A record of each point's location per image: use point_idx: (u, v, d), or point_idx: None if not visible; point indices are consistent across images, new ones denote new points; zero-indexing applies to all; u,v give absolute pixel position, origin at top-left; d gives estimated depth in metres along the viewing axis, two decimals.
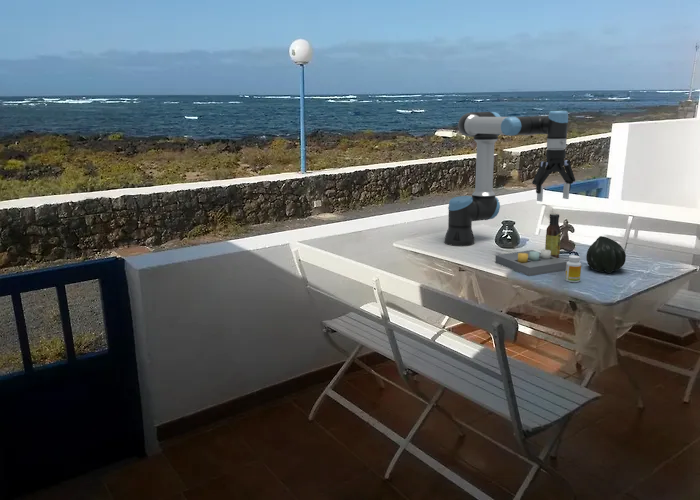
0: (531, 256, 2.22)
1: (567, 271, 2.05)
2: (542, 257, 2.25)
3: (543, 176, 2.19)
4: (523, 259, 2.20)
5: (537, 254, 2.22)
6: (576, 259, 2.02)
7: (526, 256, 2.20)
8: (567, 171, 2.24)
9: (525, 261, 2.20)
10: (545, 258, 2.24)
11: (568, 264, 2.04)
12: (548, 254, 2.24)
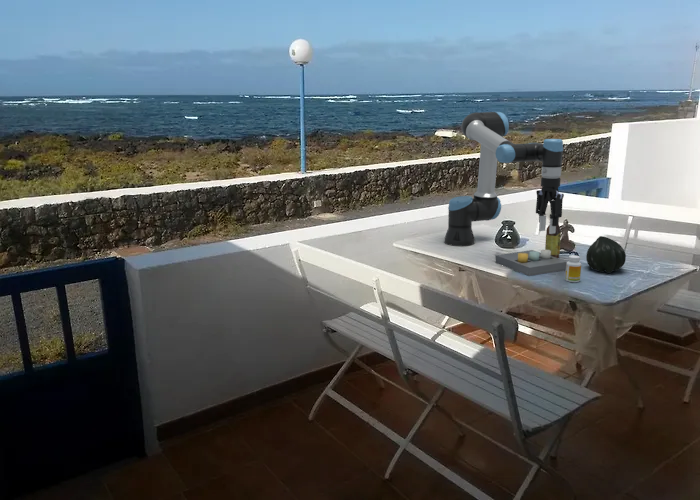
0: (531, 256, 2.22)
1: (567, 271, 2.05)
2: (542, 257, 2.25)
3: None
4: (523, 259, 2.20)
5: (537, 254, 2.22)
6: (576, 259, 2.02)
7: (526, 256, 2.20)
8: None
9: (525, 261, 2.20)
10: (545, 258, 2.24)
11: (568, 264, 2.04)
12: (548, 254, 2.24)
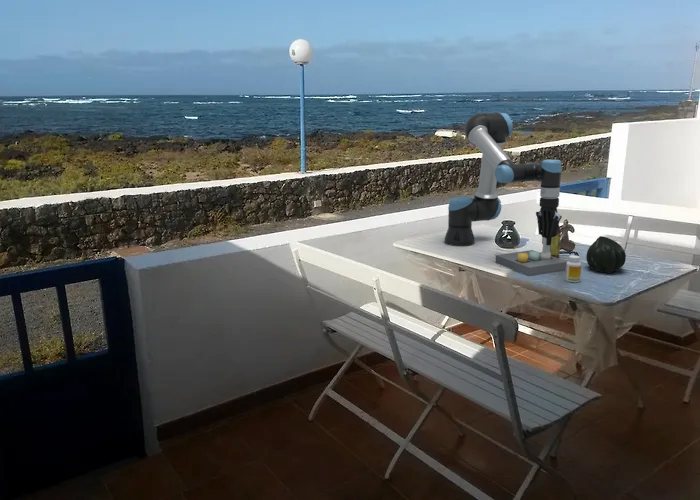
0: (531, 256, 2.22)
1: (567, 271, 2.05)
2: None
3: None
4: (523, 259, 2.20)
5: (537, 254, 2.22)
6: (576, 259, 2.02)
7: (526, 256, 2.20)
8: None
9: (525, 261, 2.20)
10: None
11: (568, 264, 2.04)
12: (548, 256, 2.24)
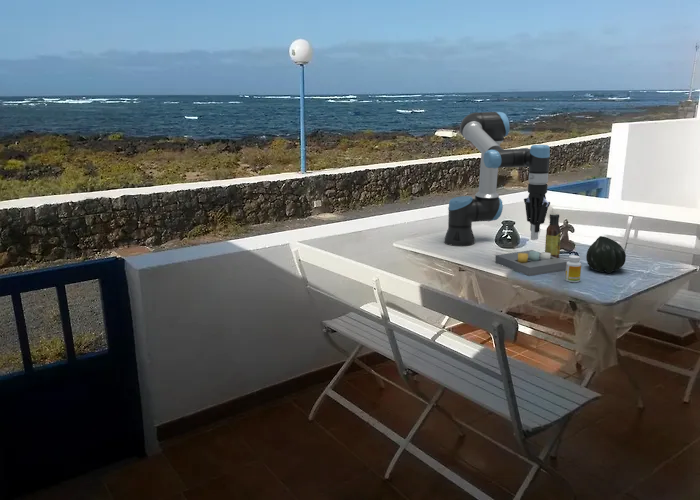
0: (531, 256, 2.22)
1: (567, 271, 2.05)
2: None
3: None
4: (523, 259, 2.20)
5: (537, 254, 2.22)
6: (576, 259, 2.02)
7: (526, 256, 2.20)
8: None
9: (525, 261, 2.20)
10: None
11: (568, 264, 2.04)
12: (548, 257, 2.24)
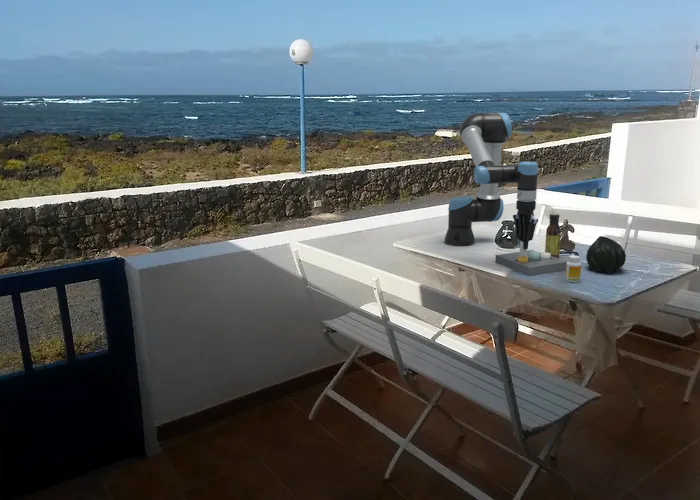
0: (531, 256, 2.22)
1: (567, 271, 2.05)
2: None
3: None
4: (522, 261, 2.20)
5: (537, 254, 2.22)
6: (576, 259, 2.02)
7: (526, 258, 2.20)
8: None
9: None
10: None
11: (568, 264, 2.04)
12: (548, 257, 2.24)
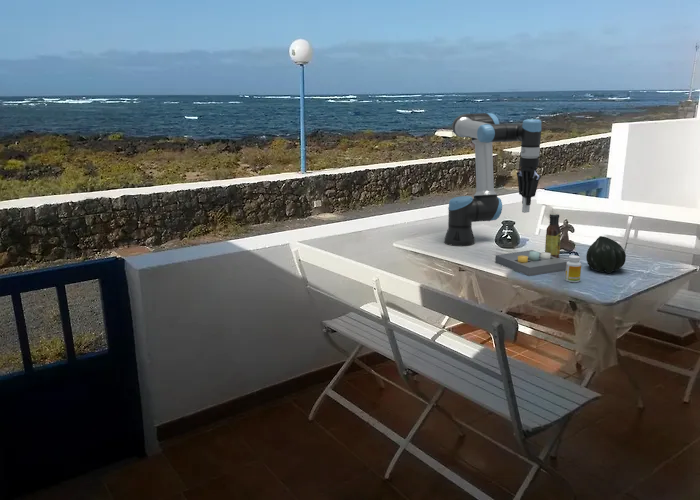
0: (531, 256, 2.22)
1: (567, 271, 2.05)
2: None
3: None
4: (522, 261, 2.20)
5: (537, 254, 2.22)
6: (576, 259, 2.02)
7: (526, 259, 2.20)
8: None
9: None
10: None
11: (568, 264, 2.04)
12: (548, 257, 2.24)
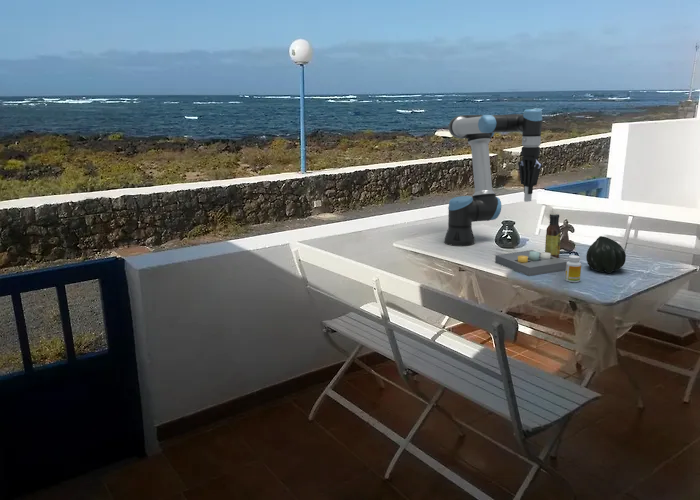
0: (531, 256, 2.22)
1: (567, 271, 2.05)
2: None
3: None
4: (522, 261, 2.20)
5: (537, 254, 2.22)
6: (576, 259, 2.02)
7: (526, 259, 2.20)
8: None
9: None
10: None
11: (568, 264, 2.04)
12: (548, 257, 2.24)
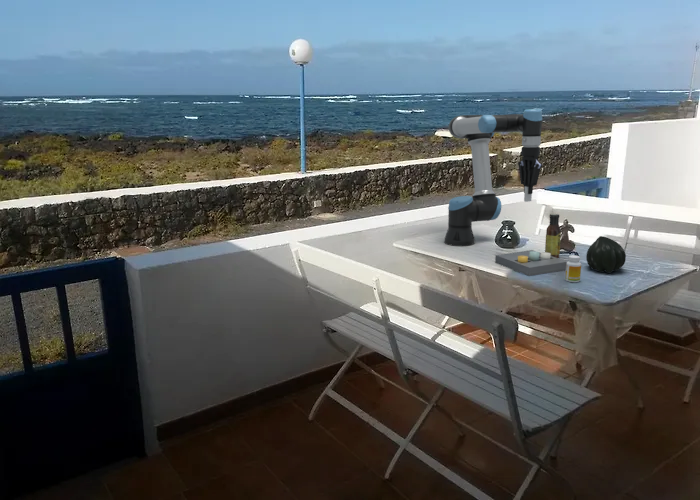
0: (531, 256, 2.22)
1: (567, 271, 2.05)
2: None
3: None
4: (522, 261, 2.20)
5: (537, 254, 2.22)
6: (576, 259, 2.02)
7: (526, 259, 2.20)
8: None
9: None
10: None
11: (568, 264, 2.04)
12: (548, 257, 2.24)
